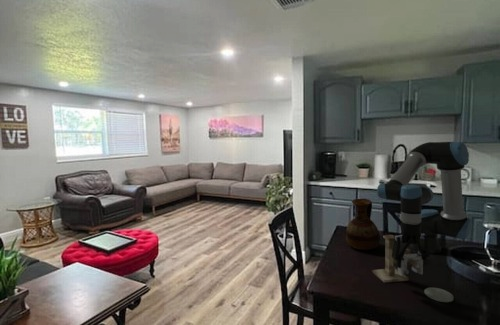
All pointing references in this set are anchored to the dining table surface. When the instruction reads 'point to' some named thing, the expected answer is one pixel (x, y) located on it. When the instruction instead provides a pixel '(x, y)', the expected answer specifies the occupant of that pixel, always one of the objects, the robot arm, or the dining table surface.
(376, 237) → the ceramic pitcher
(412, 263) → the peg stand
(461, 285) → the dining table surface
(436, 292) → the felt pad
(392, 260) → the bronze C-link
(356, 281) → the dining table surface
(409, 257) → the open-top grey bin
